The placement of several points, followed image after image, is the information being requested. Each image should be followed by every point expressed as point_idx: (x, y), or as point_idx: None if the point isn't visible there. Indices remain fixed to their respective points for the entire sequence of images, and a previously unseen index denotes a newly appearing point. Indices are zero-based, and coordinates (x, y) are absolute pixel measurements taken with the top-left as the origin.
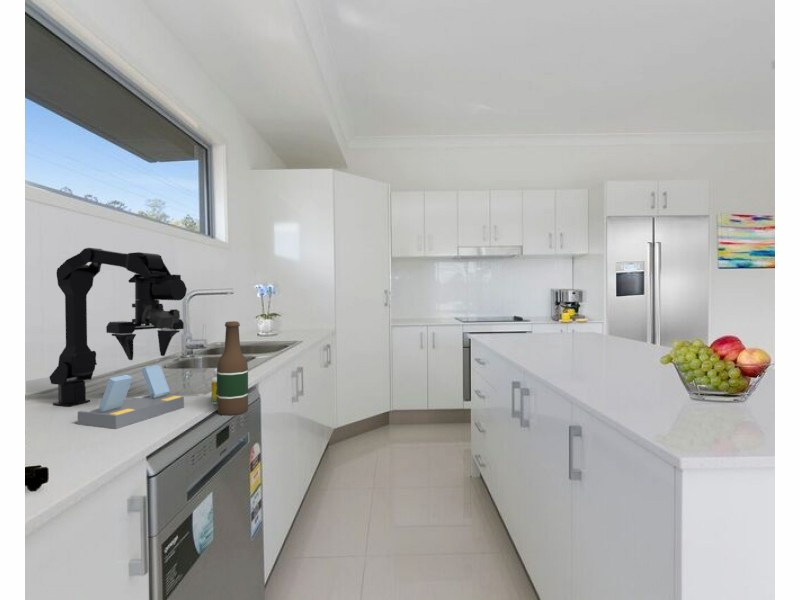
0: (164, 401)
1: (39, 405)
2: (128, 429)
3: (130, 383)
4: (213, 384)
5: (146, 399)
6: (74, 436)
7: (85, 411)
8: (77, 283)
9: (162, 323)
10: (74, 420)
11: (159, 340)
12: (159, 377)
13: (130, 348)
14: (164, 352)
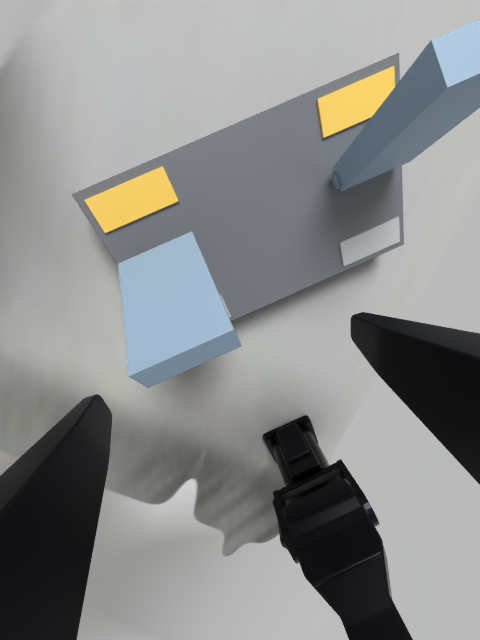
0: (172, 165)
1: (328, 449)
2: (351, 16)
3: (399, 83)
4: None
5: (211, 264)
6: None
7: (398, 224)
8: None
9: None
10: (360, 287)
11: (73, 600)
12: (153, 303)
13: (472, 334)
14: (77, 413)
